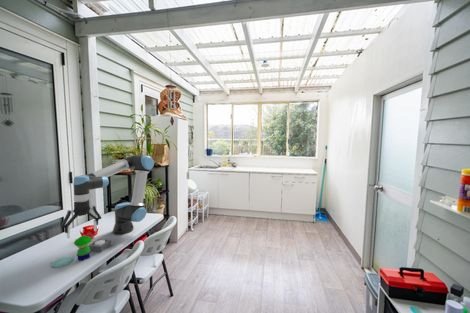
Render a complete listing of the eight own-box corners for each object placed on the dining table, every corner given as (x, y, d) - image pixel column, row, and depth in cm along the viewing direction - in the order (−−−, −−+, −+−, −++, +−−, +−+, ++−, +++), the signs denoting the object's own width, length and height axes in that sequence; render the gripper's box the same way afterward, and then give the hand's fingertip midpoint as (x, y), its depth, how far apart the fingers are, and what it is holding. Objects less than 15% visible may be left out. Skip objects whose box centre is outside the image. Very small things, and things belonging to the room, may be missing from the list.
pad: (72, 254, 127) (72, 254, 127) (76, 261, 121) (76, 260, 121) (49, 262, 119) (49, 262, 119) (52, 270, 112) (52, 269, 112)
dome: (99, 243, 139) (99, 239, 139) (107, 244, 139) (107, 240, 139) (92, 248, 134) (92, 244, 133) (100, 248, 133) (100, 244, 133)
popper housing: (99, 243, 142) (99, 238, 142) (111, 244, 141) (111, 239, 140) (87, 251, 132) (87, 245, 132) (100, 252, 131) (100, 246, 130)
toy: (91, 253, 129) (90, 231, 129) (93, 258, 123) (92, 236, 122) (73, 258, 123) (73, 235, 122) (75, 264, 117) (74, 240, 116)
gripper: (102, 195, 133) (103, 226, 134) (53, 203, 114) (54, 239, 115) (106, 197, 128) (107, 229, 129) (56, 206, 109) (57, 243, 110)
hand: (82, 234), depth 122 cm, fingers open, 13 cm apart
